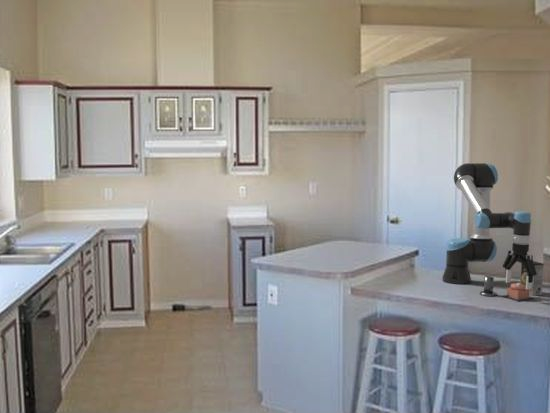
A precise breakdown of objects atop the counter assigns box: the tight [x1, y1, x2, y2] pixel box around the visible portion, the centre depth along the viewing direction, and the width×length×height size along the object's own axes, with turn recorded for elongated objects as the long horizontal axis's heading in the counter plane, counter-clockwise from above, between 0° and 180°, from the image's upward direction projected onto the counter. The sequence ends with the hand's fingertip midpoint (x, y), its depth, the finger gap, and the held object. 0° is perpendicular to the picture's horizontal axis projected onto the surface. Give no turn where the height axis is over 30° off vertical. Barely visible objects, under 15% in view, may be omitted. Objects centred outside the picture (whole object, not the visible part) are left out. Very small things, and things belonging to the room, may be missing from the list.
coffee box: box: [520, 260, 545, 296], centre depth 326 cm, size 9×6×16 cm
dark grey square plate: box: [502, 294, 535, 302], centre depth 316 cm, size 10×10×1 cm
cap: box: [506, 282, 530, 299], centre depth 316 cm, size 7×7×7 cm
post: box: [479, 275, 498, 298], centre depth 322 cm, size 8×8×9 cm
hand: (518, 285), depth 316 cm, fingers open, 13 cm apart
